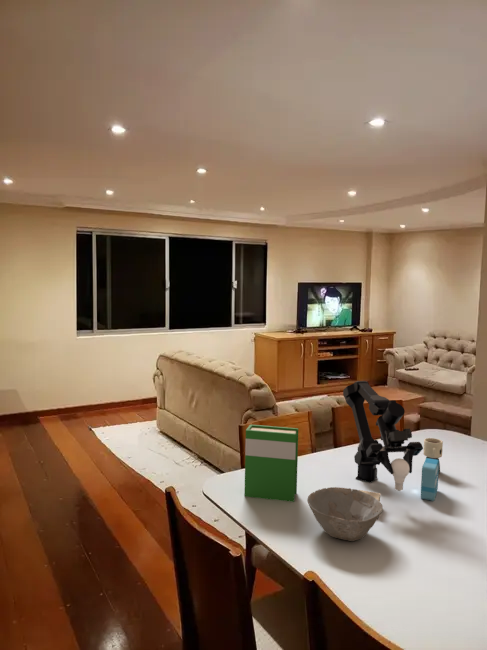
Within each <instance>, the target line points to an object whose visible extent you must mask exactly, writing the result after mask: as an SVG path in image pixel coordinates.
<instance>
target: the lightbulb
mask: <svg viewBox="0 0 487 650" xmlns="http://www.w3.org/2000/svg"><path fill="white" fill-rule="evenodd" d="M390 463H391V466H392V469H393V474H392V476H393V480H394V489H395V491H399V492H401V491H403V490H404V482H405V479H406V478H407V476H408V475H409V474H410V473H409V471H410V467H409V464H408V463H407V461H405V460H404V459H403V458H401V457H399V458H395V459H394V460H392V461H390Z"/></svg>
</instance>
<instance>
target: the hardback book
mask: <svg viewBox="0 0 487 650" xmlns="http://www.w3.org/2000/svg"><path fill="white" fill-rule="evenodd" d="M244 451H245V454H244V455H245V457H244V495H243V496H244V497H245V498H246V497H247V498H257V499H265V500H275V501H284V502H290V503H292V502H293V503H294V502H295V497H296V496H295V495H297V489H298V488H297V487H298V459H299V458H298V455H299V453H298V452H299V428H297V427H287V426H275V425H274V426H271V425H260V424H249V425H248V427H247V428H246V429H245V449H244Z"/></svg>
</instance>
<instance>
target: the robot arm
mask: <svg viewBox="0 0 487 650" xmlns="http://www.w3.org/2000/svg"><path fill="white" fill-rule="evenodd" d="M342 394H343V395H342V396H343V398H344V399H345V402H346V404H347V405H348V406H349V407H350V408H351V411H352V415H353V418H354V422H355V428H356V431H357V435H358V439H359V443H358V446H357V451H356V453H355V454H354V462H355V463H356V464H357V476H356V477H355V480H358V481H359V480H360V481H363V482H366V483H374V481H376V480H378V467H377V466H378V465H379V466H380V465H382V466H384V468H385V469H386V470H387V471H388V473H389V474H390V475H393V469H392V466H391V460H390V458H389V457H390V456H389V453H403V457H402V459H404V460H405V461H407V463H408V464H409V467H410V471H409V474H412V473H413V457H414V456H418V455H419V454H420V453H421V452H422V451H423V450H424V445H423V444H422V443H421V442H420V441H409V439H412V438H413V435H412V434H413V433H412V429H410V428H403V429H402V430H399V429H397V427H396V425H397V424H398V423H399V422H400V420H401V419H402V417H403V416H404V415H405V412H406V411H405V408H404V407H403V406H402V404H400V403H398V402H397V400H393V399H392V400H391V399H389V398H387V397H385V396H381V395H380V394H378V392H376V391H375V390H374V389H373V387H372V386H371V385H370V383H369V382H368V381H366V380H357V381H354V383H352V384H349V385H347V386H345V388H344V389H343V391H342ZM365 401H366V402H367V404H368V410H369V412H370V413H371V415H372V416H379V417H377V419H376V422H375V426H378V429H379V433H380V437H379V439H380V441H382V443H383V444H382V443H380V442H379V441H378V439H374V438H373V437H372V432H371V429H370V425H369V421H368V417H367V414H366V409H365V406H364V404H365ZM405 441H409V443H408V444H407V445H404V444H405Z"/></svg>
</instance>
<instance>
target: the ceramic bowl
mask: <svg viewBox="0 0 487 650" xmlns="http://www.w3.org/2000/svg"><path fill="white" fill-rule="evenodd" d="M360 490H361V489H354V488H353V489H351V488H347V487H346V488H345V487H339V486H335V487H327V488H326V487H325V488H320V489H317V490H315V491H312V492H311V493H310V494H309V495H308V496H307V499H306V501H307V503H308V506H309V508H310V510H311V513H312V514H313V516H314V518H315V519H316V522H318V524H319V525H320V527H321V528H322V530H323V531H324V532H325V533H326V534H327V535H329V536H331V537H332V538H336V539H337V540H338V539H340V540H343V541H349V542H354V541H358V540H360V539H363V538H364V536H366V535H367V534H368V533H369V531H370V529H372V528H373V526H375V523H376V522H377V520H378V519H379V517H380V515H381V513H382V512H383V509H384V508H383V507H384V506H383V504H382V502H381V501H380V502H379V501H378V500H377V499H376V498H375V497H373V496H371V495H369V494H367V493H364V492H362V491H360Z"/></svg>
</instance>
